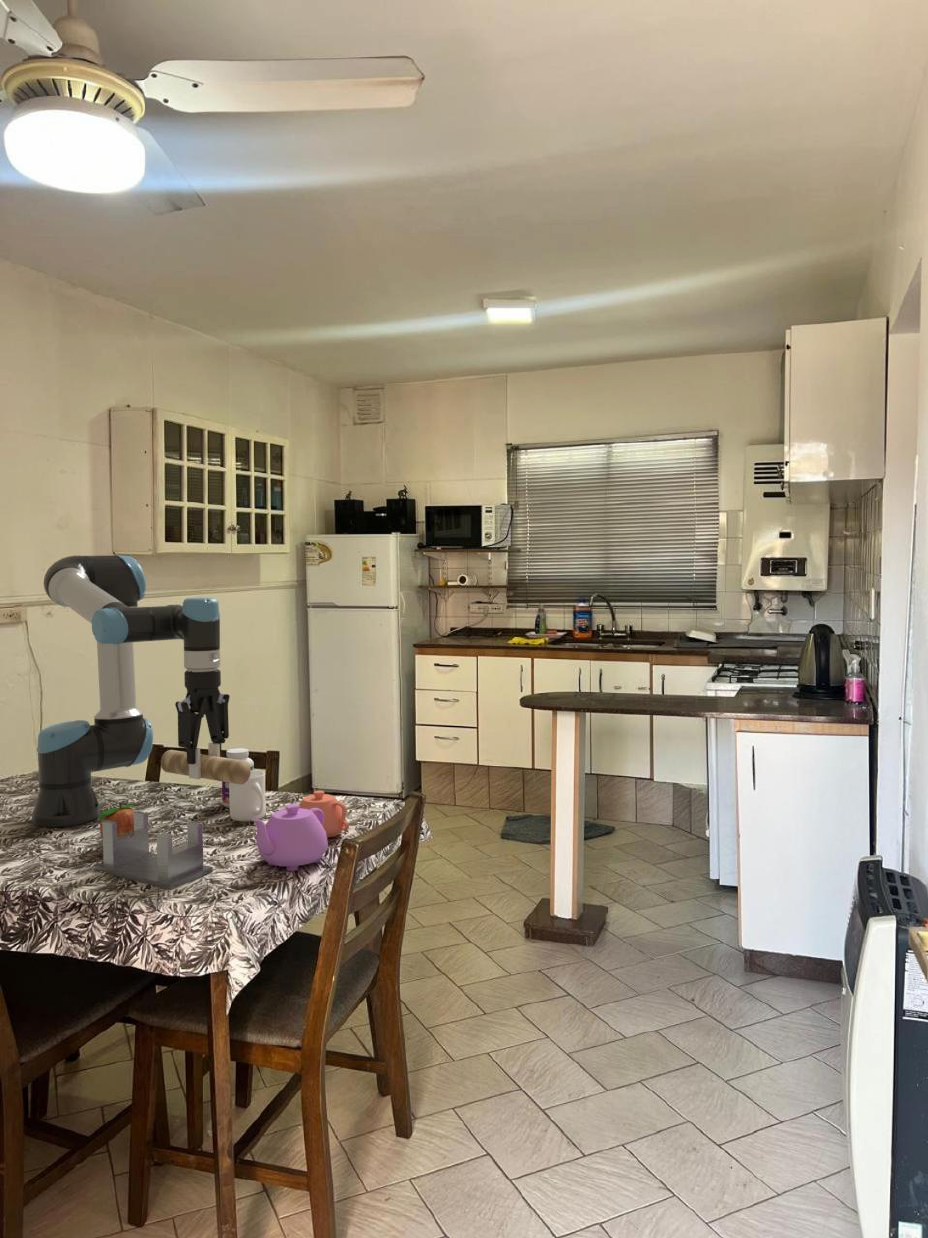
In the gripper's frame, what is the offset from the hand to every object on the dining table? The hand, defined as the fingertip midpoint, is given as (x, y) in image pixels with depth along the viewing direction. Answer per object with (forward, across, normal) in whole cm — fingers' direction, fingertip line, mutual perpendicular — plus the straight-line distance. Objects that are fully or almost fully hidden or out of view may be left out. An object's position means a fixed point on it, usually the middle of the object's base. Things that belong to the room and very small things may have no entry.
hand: (204, 775), depth 189 cm
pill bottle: (+17, +29, +19) cm, 38 cm away
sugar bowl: (+17, +20, -16) cm, 31 cm away
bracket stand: (+16, -15, -1) cm, 22 cm away
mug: (+17, +22, +8) cm, 29 cm away
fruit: (+17, -8, +18) cm, 26 cm away
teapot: (+17, +2, -22) cm, 28 cm away
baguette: (+1, 0, 0) cm, 1 cm away
